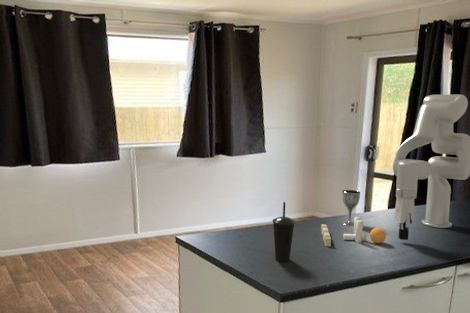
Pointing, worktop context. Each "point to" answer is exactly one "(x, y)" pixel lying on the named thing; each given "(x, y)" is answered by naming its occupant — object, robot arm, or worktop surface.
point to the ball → (377, 235)
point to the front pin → (353, 237)
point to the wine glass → (350, 203)
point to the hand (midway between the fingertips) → (403, 238)
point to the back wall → (326, 235)
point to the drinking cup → (283, 236)
